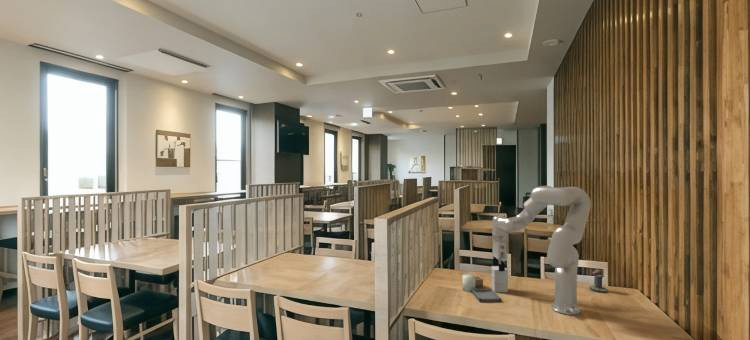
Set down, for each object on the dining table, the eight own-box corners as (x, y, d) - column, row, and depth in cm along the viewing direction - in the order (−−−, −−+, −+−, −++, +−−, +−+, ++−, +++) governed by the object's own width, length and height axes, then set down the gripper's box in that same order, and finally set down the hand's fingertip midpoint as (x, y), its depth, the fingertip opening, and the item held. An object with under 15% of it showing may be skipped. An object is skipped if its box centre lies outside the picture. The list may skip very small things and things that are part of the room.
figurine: (604, 294, 196) (604, 272, 196) (587, 290, 202) (587, 268, 202) (609, 290, 202) (609, 269, 202) (591, 286, 208) (592, 265, 208)
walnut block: (483, 287, 207) (483, 279, 207) (475, 288, 205) (475, 280, 205) (477, 285, 212) (477, 276, 212) (470, 286, 210) (470, 277, 210)
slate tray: (500, 301, 186) (500, 298, 186) (479, 302, 185) (479, 298, 185) (491, 292, 200) (491, 288, 200) (471, 292, 199) (471, 289, 199)
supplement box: (504, 288, 206) (504, 266, 206) (507, 292, 199) (508, 269, 198) (491, 287, 207) (491, 265, 207) (494, 292, 199) (494, 269, 199)
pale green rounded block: (476, 292, 200) (476, 277, 200) (464, 292, 200) (464, 277, 200) (473, 287, 207) (473, 273, 207) (461, 287, 207) (461, 274, 207)
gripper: (512, 241, 194) (511, 273, 194) (500, 234, 211) (499, 263, 212) (498, 241, 194) (497, 273, 194) (487, 234, 211) (486, 263, 211)
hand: (498, 268), depth 203 cm, fingers open, 9 cm apart
